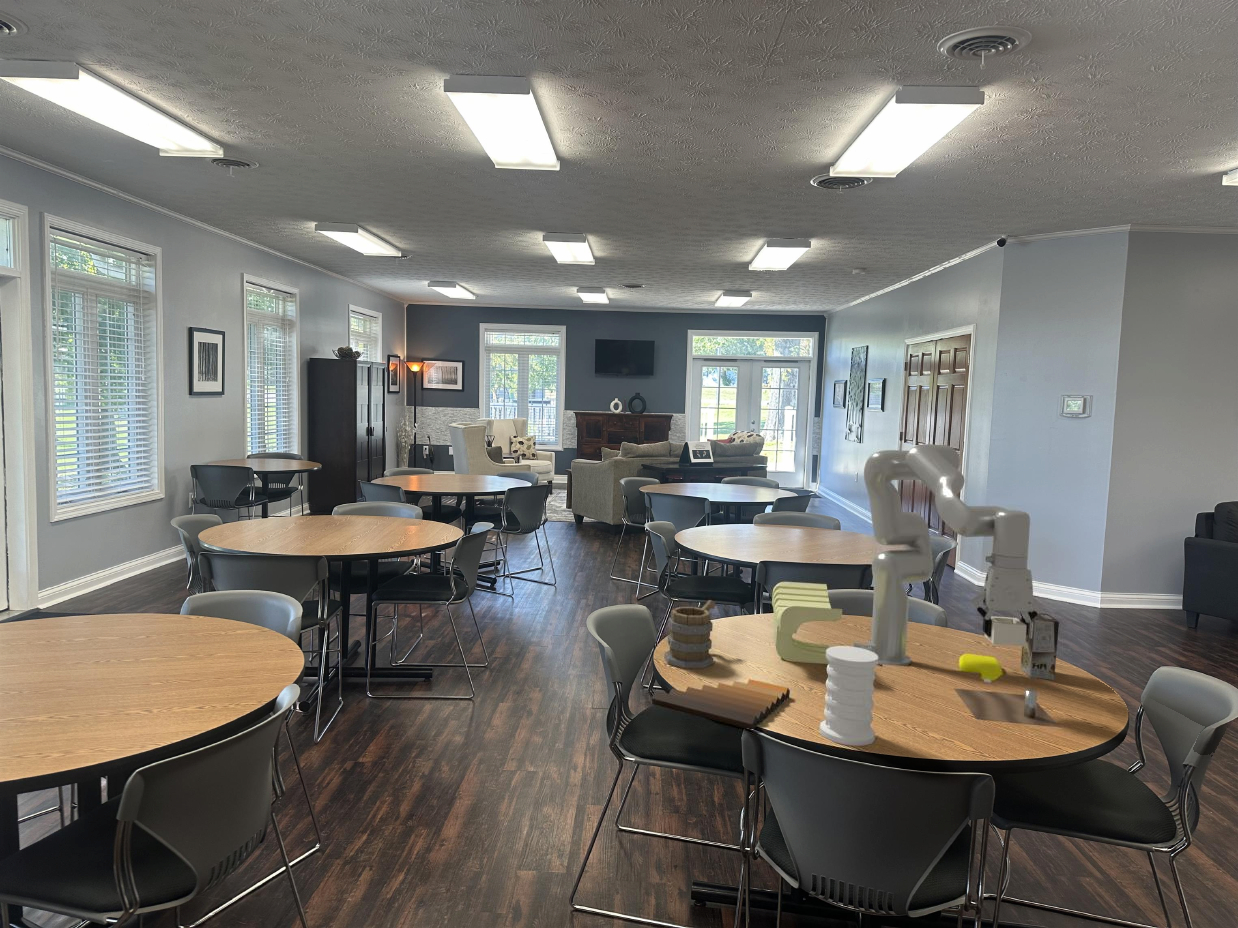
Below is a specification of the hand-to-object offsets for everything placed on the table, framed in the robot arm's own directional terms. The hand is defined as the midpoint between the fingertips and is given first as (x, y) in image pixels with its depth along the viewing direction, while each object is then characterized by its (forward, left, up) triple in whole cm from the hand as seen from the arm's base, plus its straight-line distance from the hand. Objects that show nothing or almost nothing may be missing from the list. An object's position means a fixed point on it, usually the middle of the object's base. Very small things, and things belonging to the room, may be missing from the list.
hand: (1004, 635), depth 186 cm
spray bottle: (+3, +26, -19) cm, 32 cm away
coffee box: (+20, +33, -19) cm, 43 cm away
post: (+5, -6, -17) cm, 19 cm away
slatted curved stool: (-44, +31, -19) cm, 57 cm away
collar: (0, 0, -1) cm, 1 cm away
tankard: (-74, +19, -19) cm, 79 cm away
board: (+1, -1, -18) cm, 18 cm away
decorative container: (-38, -24, -19) cm, 49 cm away
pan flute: (-66, -11, -19) cm, 69 cm away
